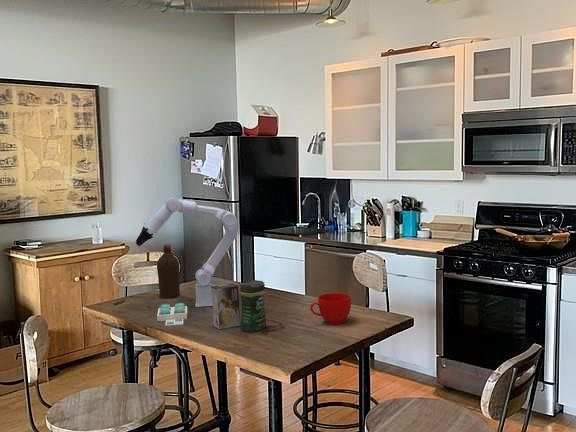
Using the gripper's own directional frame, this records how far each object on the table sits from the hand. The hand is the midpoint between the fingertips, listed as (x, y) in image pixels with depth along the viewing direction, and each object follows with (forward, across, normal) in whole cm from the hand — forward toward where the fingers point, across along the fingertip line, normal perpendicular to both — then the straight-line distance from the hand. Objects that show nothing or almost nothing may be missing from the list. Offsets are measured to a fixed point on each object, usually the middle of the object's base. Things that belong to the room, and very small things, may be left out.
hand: (137, 243), depth 256 cm
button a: (+9, +12, +31) cm, 34 cm away
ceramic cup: (-29, +46, +73) cm, 91 cm away
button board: (+12, +15, +30) cm, 36 cm away
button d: (+13, +17, +27) cm, 34 cm away
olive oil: (+12, -22, +30) cm, 39 cm away
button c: (+13, +11, +27) cm, 32 cm away
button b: (+9, +18, +31) cm, 37 cm away
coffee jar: (-8, +44, +51) cm, 68 cm away
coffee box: (-2, +36, +45) cm, 57 cm away
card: (+12, +25, +30) cm, 41 cm away
